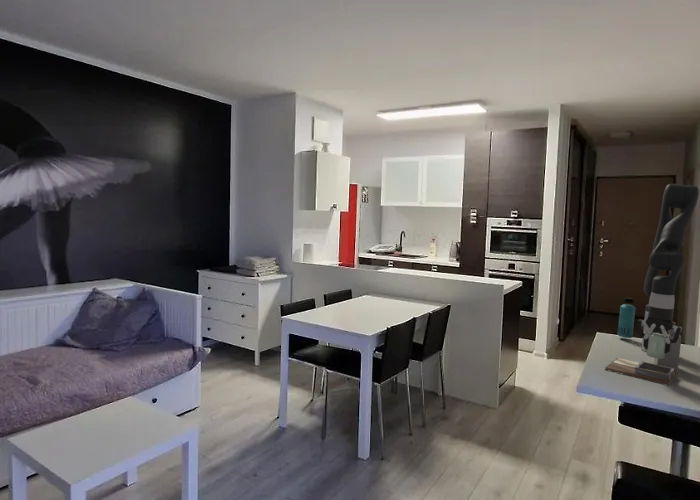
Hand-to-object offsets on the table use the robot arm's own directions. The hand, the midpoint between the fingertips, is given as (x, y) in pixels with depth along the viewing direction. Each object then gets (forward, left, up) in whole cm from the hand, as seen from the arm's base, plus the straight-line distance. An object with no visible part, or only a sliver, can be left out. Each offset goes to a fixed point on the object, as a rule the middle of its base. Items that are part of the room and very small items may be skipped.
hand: (656, 350), depth 173 cm
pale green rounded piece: (+1, 0, -2) cm, 2 cm away
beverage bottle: (-49, -21, -10) cm, 54 cm away
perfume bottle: (-16, +1, -10) cm, 18 cm away
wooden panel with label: (-1, -4, -9) cm, 10 cm away
